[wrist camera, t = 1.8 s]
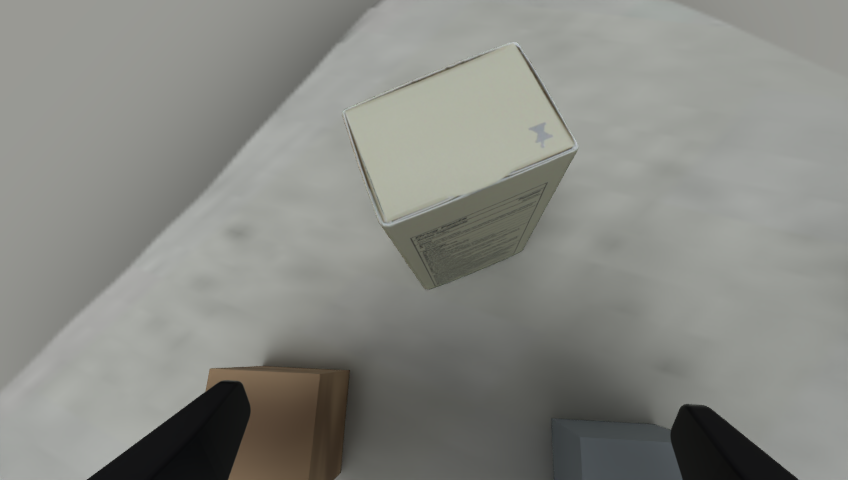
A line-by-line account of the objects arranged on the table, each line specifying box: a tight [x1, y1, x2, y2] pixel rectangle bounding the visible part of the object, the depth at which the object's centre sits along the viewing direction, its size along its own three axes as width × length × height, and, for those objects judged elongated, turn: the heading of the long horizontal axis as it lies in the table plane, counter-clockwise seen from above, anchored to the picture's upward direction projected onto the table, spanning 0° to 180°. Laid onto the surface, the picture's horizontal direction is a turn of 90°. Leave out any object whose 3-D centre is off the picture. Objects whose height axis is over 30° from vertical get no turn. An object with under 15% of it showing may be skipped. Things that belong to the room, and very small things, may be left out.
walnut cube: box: [206, 366, 350, 480], centre depth 19 cm, size 5×5×5 cm
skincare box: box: [342, 42, 579, 290], centre depth 18 cm, size 6×4×12 cm
